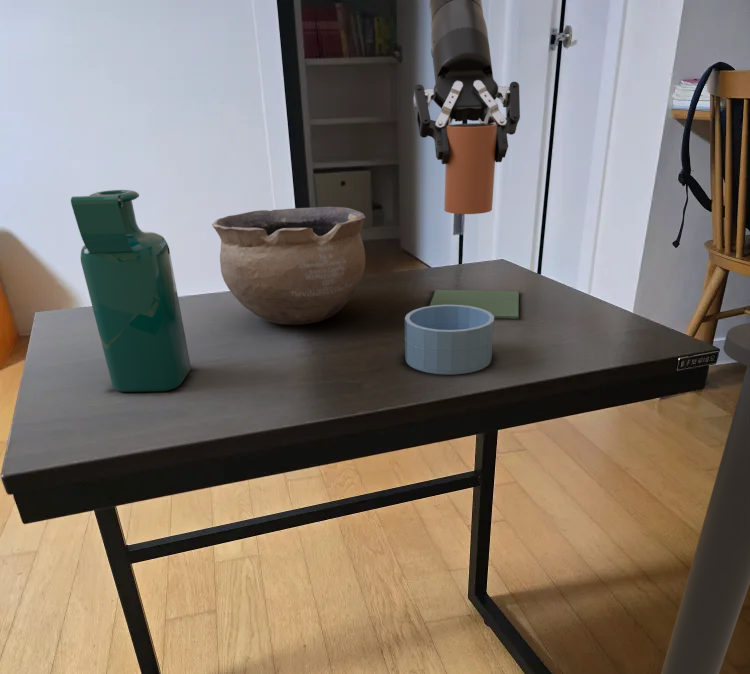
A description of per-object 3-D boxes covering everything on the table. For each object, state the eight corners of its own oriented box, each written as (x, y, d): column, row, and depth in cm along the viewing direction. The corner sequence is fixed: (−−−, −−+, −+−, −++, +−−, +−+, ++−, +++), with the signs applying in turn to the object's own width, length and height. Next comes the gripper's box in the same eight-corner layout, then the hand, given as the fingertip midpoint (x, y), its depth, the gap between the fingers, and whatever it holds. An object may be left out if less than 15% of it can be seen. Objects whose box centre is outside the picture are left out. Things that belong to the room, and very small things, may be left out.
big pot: (492, 345, 91) (495, 305, 88) (489, 376, 82) (492, 332, 79) (411, 343, 93) (411, 303, 90) (399, 372, 84) (399, 329, 81)
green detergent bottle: (131, 368, 88) (88, 185, 76) (195, 367, 88) (161, 183, 76) (104, 398, 80) (51, 198, 68) (174, 397, 79) (134, 195, 68)
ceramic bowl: (239, 348, 93) (223, 234, 85) (217, 307, 111) (202, 210, 103) (388, 327, 99) (386, 219, 91) (344, 292, 117) (339, 198, 109)
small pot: (492, 205, 92) (497, 122, 87) (491, 214, 87) (496, 126, 82) (446, 205, 93) (448, 123, 88) (442, 214, 88) (444, 127, 83)
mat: (518, 293, 113) (518, 291, 112) (518, 318, 101) (518, 316, 101) (435, 292, 115) (435, 289, 115) (426, 316, 103) (426, 313, 103)
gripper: (409, 26, 85) (419, 139, 81) (520, 23, 86) (536, 134, 82) (404, 76, 92) (414, 181, 89) (507, 72, 93) (521, 176, 89)
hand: (472, 158), depth 85 cm, fingers closed on small pot, 6 cm apart
